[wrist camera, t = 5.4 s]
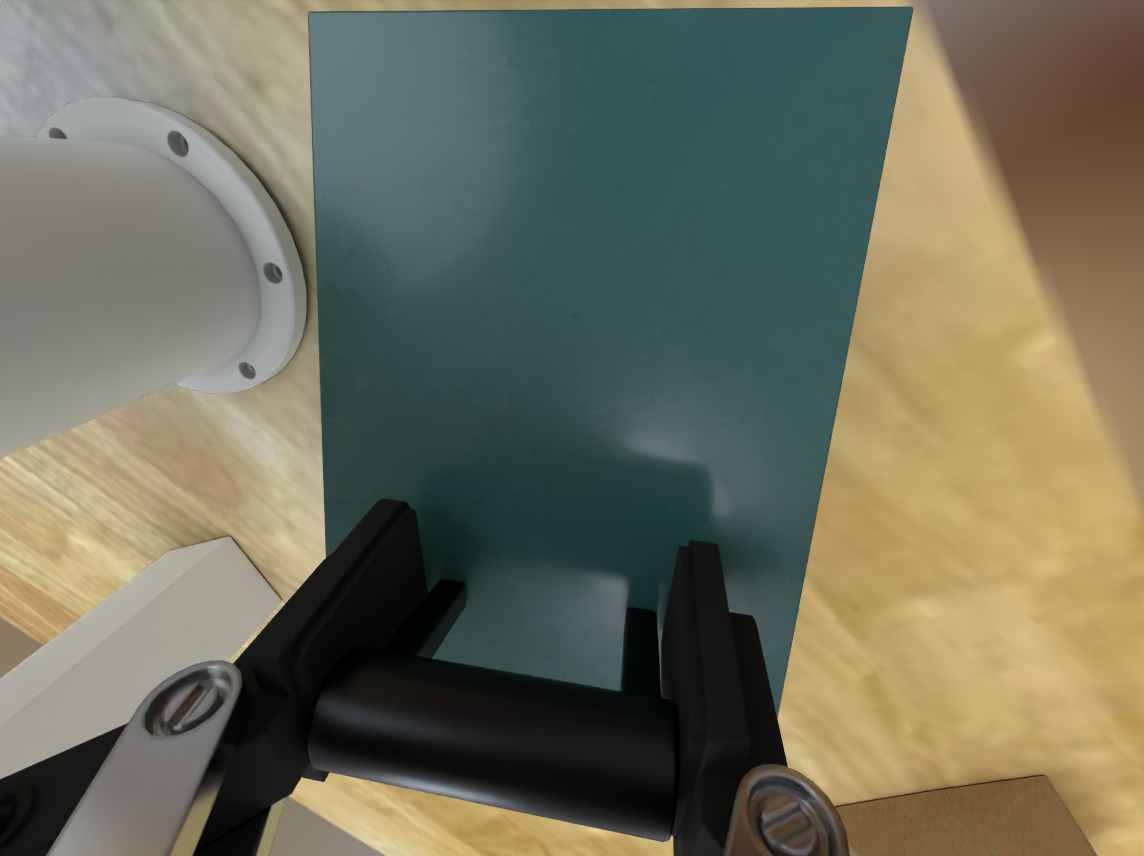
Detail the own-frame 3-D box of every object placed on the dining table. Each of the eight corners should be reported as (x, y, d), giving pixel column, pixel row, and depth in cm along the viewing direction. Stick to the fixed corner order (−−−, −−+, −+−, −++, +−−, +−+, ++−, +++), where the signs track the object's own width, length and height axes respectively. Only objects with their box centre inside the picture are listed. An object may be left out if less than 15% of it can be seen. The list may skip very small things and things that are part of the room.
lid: (767, 702, 12) (867, 997, 7) (346, 631, 13) (151, 827, 8) (892, 33, 9) (1252, -400, 4) (332, 34, 10) (7, -277, 5)
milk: (284, 600, 33) (-225, 1182, 14) (222, 611, 35) (-306, 1143, 16) (229, 533, 31) (-474, 1123, 12) (165, 549, 33) (-536, 1084, 13)
